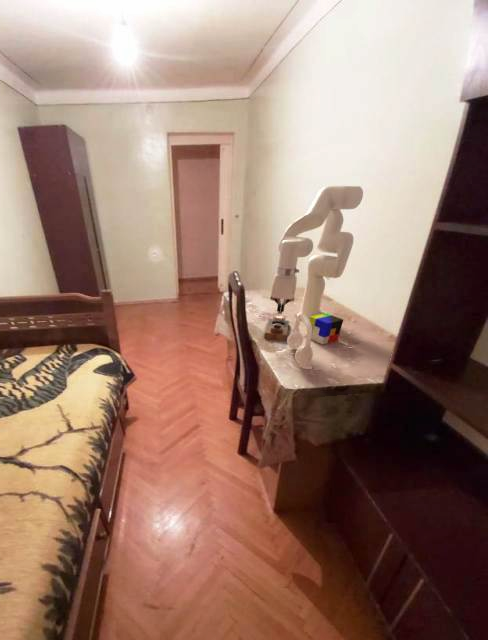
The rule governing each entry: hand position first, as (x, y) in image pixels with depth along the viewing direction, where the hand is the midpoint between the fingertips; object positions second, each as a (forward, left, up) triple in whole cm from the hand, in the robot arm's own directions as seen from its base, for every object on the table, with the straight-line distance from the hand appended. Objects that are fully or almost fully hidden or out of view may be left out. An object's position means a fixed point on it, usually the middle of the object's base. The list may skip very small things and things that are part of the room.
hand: (280, 312), depth 147 cm
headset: (-10, +23, -11) cm, 28 cm away
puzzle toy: (-21, -2, -11) cm, 24 cm away
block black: (0, -11, -11) cm, 16 cm away
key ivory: (0, -11, -7) cm, 13 cm away
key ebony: (0, 0, -7) cm, 7 cm away
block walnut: (0, 0, -11) cm, 11 cm away
